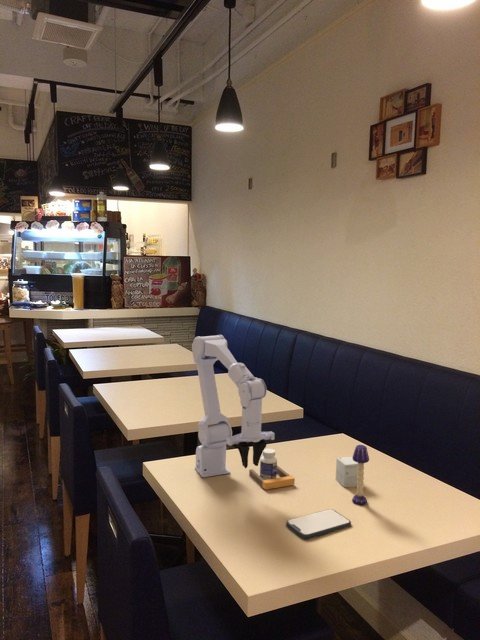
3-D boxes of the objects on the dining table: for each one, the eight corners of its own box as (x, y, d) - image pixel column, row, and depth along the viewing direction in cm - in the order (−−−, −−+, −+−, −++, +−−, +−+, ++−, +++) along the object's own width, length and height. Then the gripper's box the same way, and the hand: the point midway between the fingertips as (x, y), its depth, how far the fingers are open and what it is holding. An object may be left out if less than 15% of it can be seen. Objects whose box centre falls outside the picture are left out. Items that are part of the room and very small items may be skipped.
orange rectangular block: (265, 489, 153) (265, 483, 153) (262, 486, 155) (262, 480, 155) (294, 484, 158) (294, 478, 157) (291, 481, 159) (291, 475, 159)
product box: (343, 487, 157) (344, 464, 156) (334, 479, 163) (336, 457, 162) (361, 486, 159) (363, 463, 158) (352, 477, 164) (353, 455, 164)
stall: (261, 487, 156) (261, 481, 155) (249, 475, 164) (249, 469, 164) (290, 482, 160) (290, 476, 159) (276, 471, 168) (277, 465, 168)
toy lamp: (363, 507, 145) (366, 450, 143) (347, 503, 147) (350, 446, 145) (369, 501, 149) (372, 445, 147) (353, 496, 151) (356, 442, 149)
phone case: (330, 513, 142) (283, 526, 134) (331, 507, 142) (283, 520, 134) (353, 528, 135) (304, 542, 126) (353, 522, 134) (304, 536, 126)
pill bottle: (275, 482, 160) (276, 454, 159) (258, 480, 161) (259, 453, 160) (277, 475, 165) (278, 448, 164) (261, 473, 166) (262, 447, 165)
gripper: (234, 427, 143) (232, 474, 144) (280, 422, 149) (278, 467, 150) (224, 420, 149) (223, 464, 151) (269, 415, 155) (267, 458, 157)
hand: (250, 465), depth 151 cm, fingers open, 3 cm apart
